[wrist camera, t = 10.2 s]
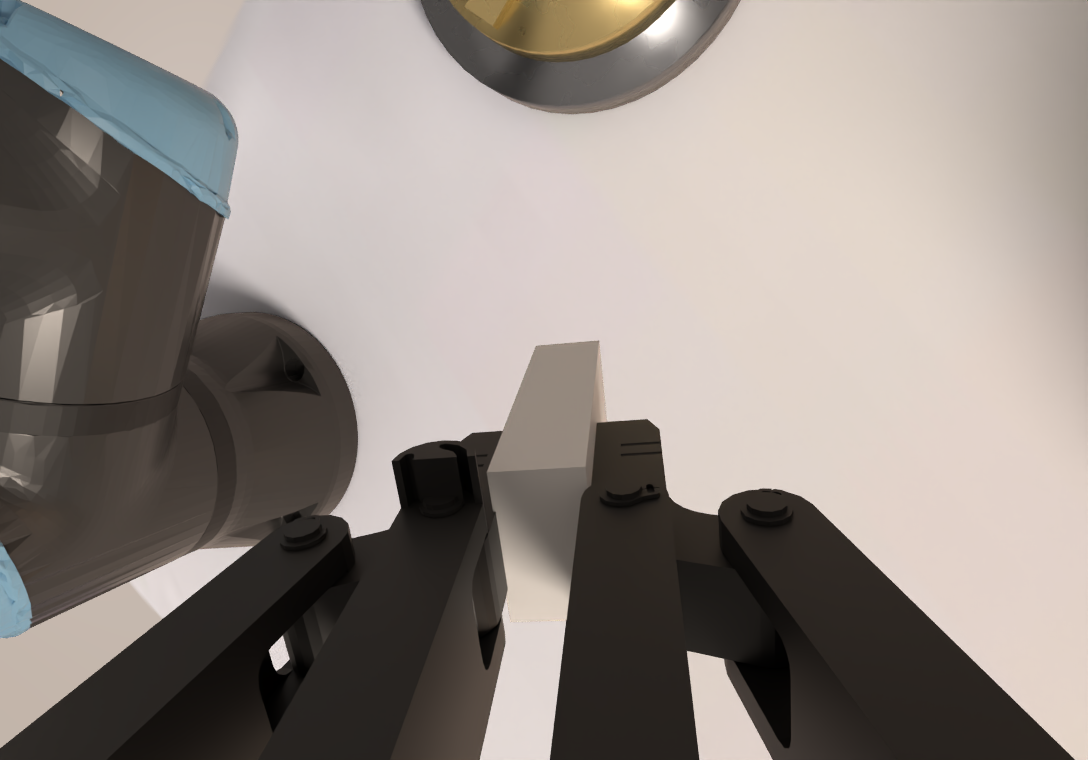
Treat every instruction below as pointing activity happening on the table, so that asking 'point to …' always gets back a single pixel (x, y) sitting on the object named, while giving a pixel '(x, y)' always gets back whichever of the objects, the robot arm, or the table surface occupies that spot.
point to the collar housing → (588, 81)
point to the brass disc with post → (561, 25)
